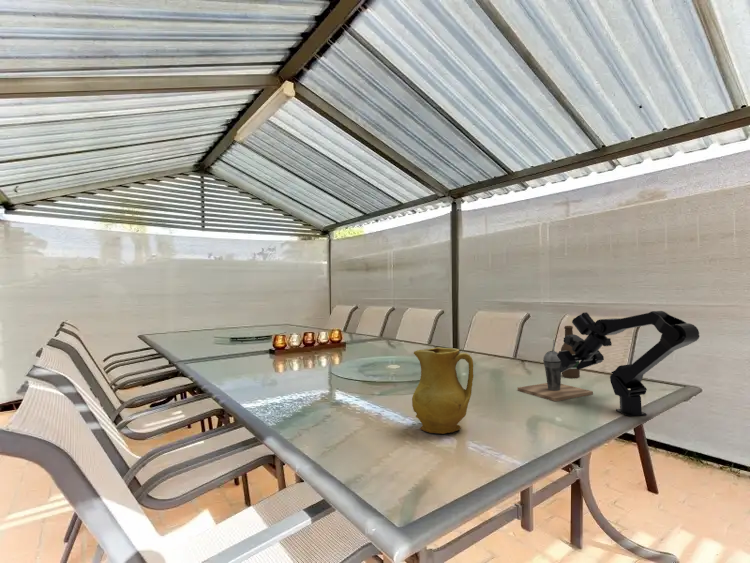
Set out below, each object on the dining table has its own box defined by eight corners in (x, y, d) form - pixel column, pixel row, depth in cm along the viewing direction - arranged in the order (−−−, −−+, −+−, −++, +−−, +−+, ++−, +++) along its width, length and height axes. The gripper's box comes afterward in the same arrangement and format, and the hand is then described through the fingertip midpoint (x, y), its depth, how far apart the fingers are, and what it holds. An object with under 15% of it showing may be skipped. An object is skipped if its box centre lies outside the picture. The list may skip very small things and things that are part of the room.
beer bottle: (558, 376, 199) (555, 325, 199) (569, 374, 202) (567, 324, 203) (572, 379, 192) (569, 326, 192) (583, 377, 195) (581, 325, 196)
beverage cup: (540, 388, 172) (538, 339, 173) (555, 386, 175) (552, 338, 175) (553, 392, 165) (550, 341, 166) (568, 390, 168) (565, 340, 168)
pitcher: (431, 417, 144) (428, 344, 144) (481, 426, 132) (478, 347, 132) (402, 431, 130) (398, 351, 131) (455, 443, 118) (451, 355, 119)
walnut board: (593, 394, 165) (592, 391, 165) (555, 401, 157) (555, 398, 157) (553, 384, 183) (553, 381, 183) (517, 390, 175) (517, 387, 175)
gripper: (595, 326, 162) (573, 351, 172) (559, 329, 155) (538, 356, 165) (615, 348, 155) (591, 373, 165) (578, 353, 148) (555, 379, 157)
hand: (568, 370), depth 163 cm, fingers open, 9 cm apart
